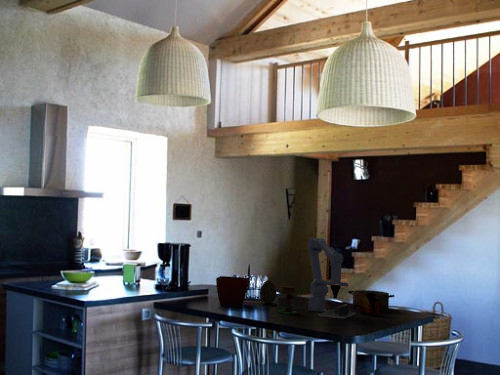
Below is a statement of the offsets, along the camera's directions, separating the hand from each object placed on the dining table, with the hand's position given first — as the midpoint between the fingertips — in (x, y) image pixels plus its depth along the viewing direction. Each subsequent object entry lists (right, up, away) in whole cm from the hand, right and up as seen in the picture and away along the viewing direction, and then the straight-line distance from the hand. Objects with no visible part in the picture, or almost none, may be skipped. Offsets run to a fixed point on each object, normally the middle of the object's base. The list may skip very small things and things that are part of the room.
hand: (335, 298), depth 369 cm
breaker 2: (+7, -9, +6) cm, 13 cm away
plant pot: (-60, -9, +25) cm, 66 cm away
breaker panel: (+1, -10, +1) cm, 10 cm away
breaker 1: (+4, -9, 0) cm, 9 cm away
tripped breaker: (+1, -8, -6) cm, 10 cm away
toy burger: (-27, -9, +3) cm, 29 cm away
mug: (+23, -12, +11) cm, 28 cm away
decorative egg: (-38, -11, +39) cm, 56 cm away
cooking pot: (+27, -13, +33) cm, 45 cm away
